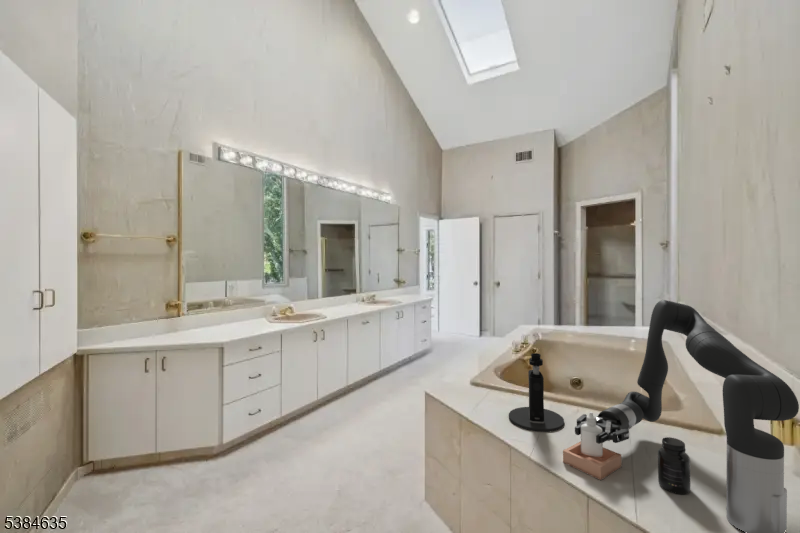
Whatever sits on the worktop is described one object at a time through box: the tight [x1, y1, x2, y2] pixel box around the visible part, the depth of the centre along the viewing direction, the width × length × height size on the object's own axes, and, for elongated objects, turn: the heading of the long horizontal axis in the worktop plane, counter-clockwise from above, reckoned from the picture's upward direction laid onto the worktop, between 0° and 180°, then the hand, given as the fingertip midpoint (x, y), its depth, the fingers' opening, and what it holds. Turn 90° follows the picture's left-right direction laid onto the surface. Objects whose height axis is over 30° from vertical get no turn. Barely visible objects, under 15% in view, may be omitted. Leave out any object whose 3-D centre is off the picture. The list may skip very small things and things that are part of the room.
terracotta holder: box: [562, 440, 622, 481], centre depth 110 cm, size 11×11×4 cm
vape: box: [508, 352, 565, 433], centre depth 139 cm, size 19×19×25 cm
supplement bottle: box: [657, 436, 692, 495], centre depth 98 cm, size 7×7×12 cm
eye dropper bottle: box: [580, 411, 604, 457], centre depth 109 cm, size 4×6×12 cm
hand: (586, 435), depth 108 cm, fingers closed on eye dropper bottle, 5 cm apart
